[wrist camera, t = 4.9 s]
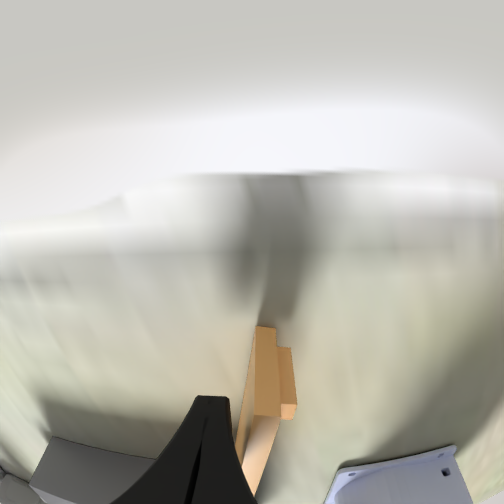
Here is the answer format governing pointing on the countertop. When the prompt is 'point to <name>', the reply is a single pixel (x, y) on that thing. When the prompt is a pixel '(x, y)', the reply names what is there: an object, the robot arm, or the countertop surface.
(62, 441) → the camera case
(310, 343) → the countertop surface
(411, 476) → the robot arm
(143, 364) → the countertop surface
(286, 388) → the case door
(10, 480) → the camera
